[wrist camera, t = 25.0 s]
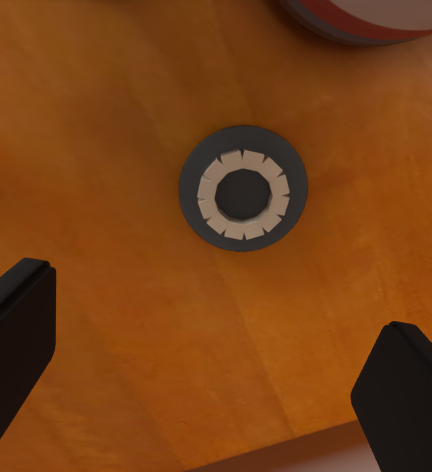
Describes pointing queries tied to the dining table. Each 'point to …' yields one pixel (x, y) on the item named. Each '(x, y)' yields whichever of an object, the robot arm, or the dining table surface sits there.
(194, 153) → the coaster
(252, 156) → the ring
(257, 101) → the dining table surface
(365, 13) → the vase
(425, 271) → the dining table surface
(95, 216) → the dining table surface
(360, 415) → the robot arm
